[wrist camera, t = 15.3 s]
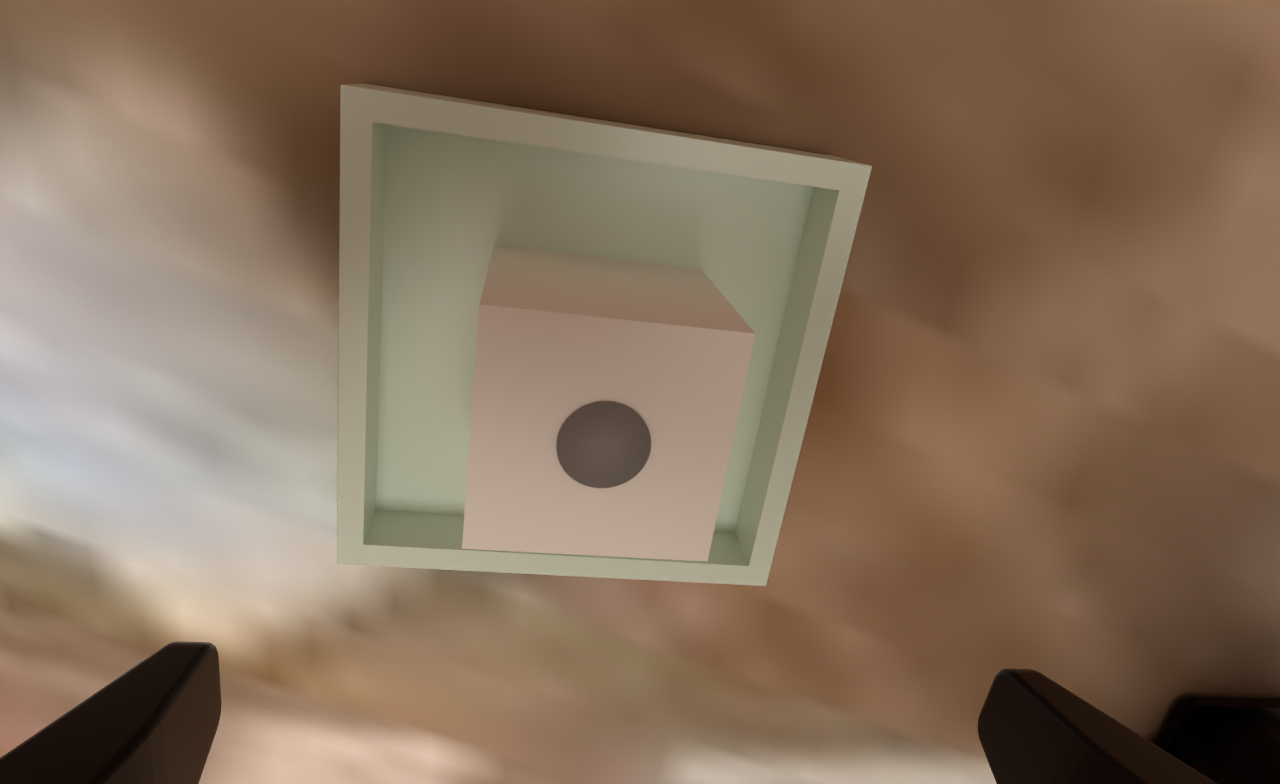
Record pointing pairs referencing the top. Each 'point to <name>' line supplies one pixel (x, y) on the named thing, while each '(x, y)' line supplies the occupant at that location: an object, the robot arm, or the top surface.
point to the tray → (574, 224)
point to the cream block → (601, 407)
